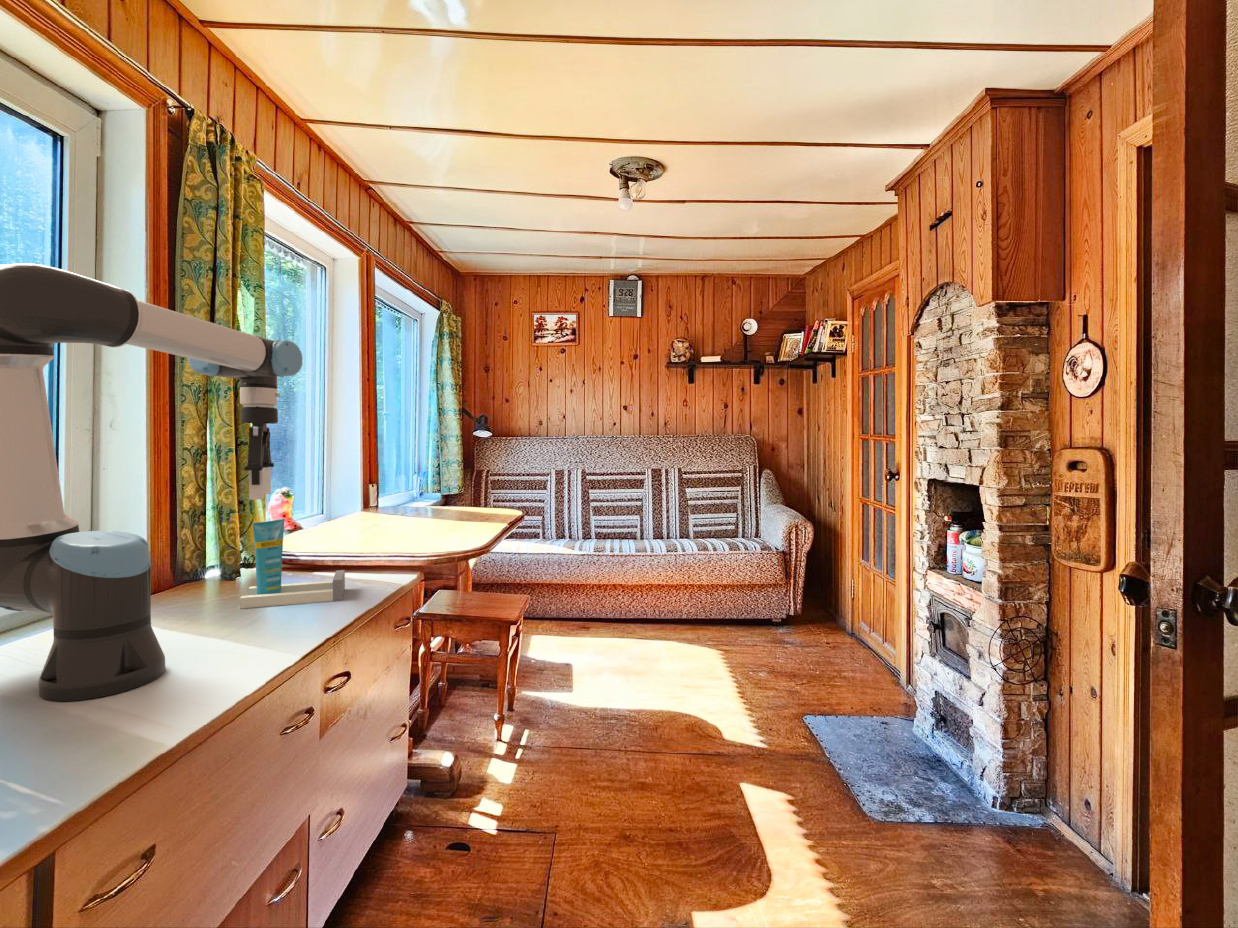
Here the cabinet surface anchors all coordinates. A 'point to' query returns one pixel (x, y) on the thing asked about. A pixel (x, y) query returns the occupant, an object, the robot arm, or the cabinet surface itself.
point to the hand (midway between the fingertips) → (260, 496)
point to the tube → (268, 555)
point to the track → (298, 593)
